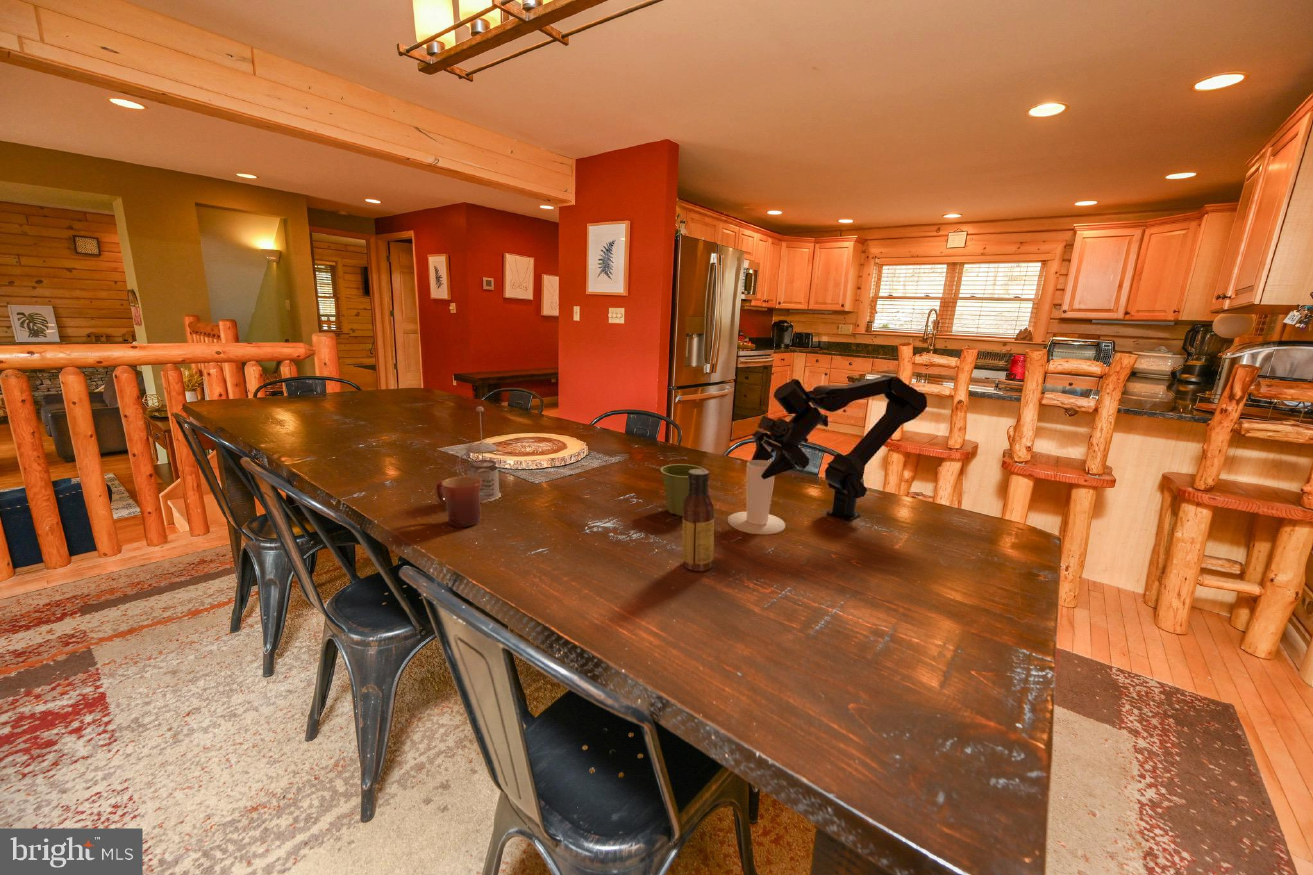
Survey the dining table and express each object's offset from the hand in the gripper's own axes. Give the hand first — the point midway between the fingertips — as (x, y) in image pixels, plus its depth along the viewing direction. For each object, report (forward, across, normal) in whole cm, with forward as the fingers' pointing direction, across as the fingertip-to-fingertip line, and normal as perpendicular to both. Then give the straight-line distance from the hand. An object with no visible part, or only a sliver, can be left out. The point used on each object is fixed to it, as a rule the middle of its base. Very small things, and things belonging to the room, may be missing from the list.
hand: (755, 473), depth 120 cm
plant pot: (+19, -11, -1) cm, 22 cm away
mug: (+57, -16, -40) cm, 72 cm away
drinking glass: (+8, 0, +10) cm, 13 cm away
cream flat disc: (+8, 0, +10) cm, 13 cm away
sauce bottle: (+24, +18, -6) cm, 31 cm away
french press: (+54, -32, -37) cm, 73 cm away
